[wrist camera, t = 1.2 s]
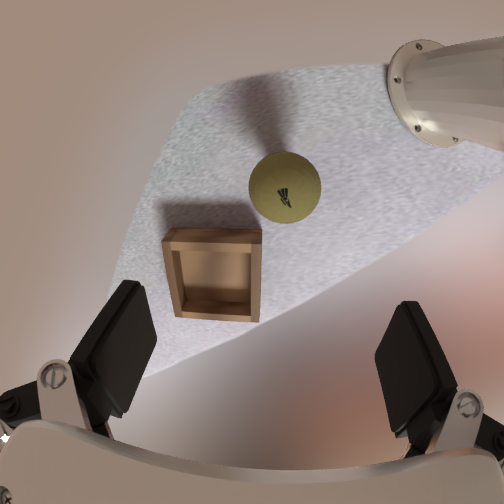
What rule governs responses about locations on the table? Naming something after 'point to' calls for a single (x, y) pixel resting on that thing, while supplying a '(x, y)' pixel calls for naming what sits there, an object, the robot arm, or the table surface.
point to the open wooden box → (214, 273)
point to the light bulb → (284, 187)
